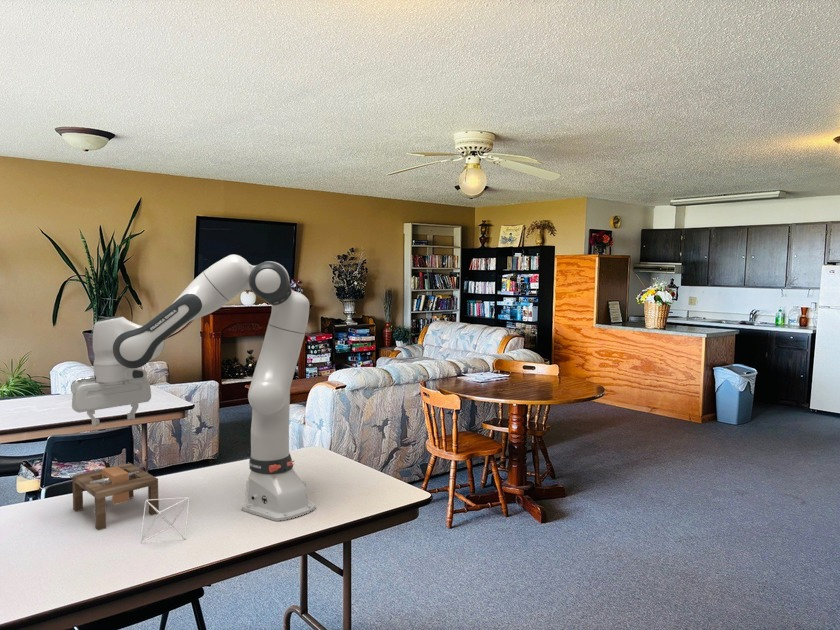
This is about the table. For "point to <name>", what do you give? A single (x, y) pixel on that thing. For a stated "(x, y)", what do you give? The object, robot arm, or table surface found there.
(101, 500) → the small wooden table
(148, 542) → the geometric polyhedron
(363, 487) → the table surface
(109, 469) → the tan cardboard brick
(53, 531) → the table surface
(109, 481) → the grey textured rod
